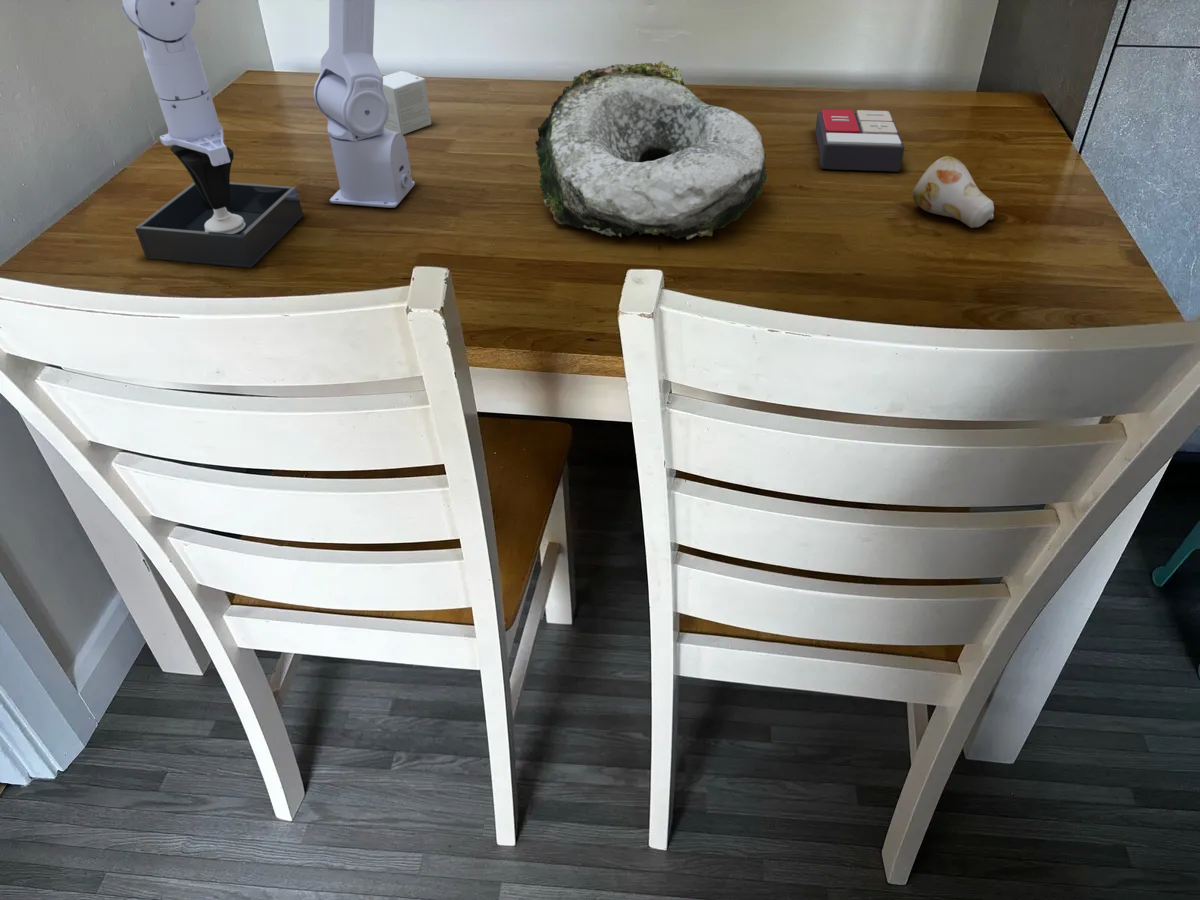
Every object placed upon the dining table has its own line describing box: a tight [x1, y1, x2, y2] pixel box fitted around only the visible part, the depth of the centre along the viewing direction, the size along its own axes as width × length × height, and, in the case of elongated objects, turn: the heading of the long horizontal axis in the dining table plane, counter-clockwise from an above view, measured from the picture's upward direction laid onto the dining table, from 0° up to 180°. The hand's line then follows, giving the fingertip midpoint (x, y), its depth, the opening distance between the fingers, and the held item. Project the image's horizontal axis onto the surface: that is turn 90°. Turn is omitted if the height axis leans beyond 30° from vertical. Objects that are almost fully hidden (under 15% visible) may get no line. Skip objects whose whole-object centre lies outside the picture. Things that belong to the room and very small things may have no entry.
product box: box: [382, 70, 432, 136], centre depth 142 cm, size 6×6×7 cm
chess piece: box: [204, 207, 245, 234], centre depth 112 cm, size 5×5×10 cm
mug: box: [912, 155, 995, 229], centre depth 115 cm, size 8×10×10 cm
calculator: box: [814, 108, 905, 173], centre depth 133 cm, size 11×4×15 cm
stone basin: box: [534, 60, 770, 241], centre depth 118 cm, size 29×30×15 cm
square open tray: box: [134, 181, 304, 269], centre depth 114 cm, size 14×14×4 cm
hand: (217, 203), depth 113 cm, fingers closed on chess piece
